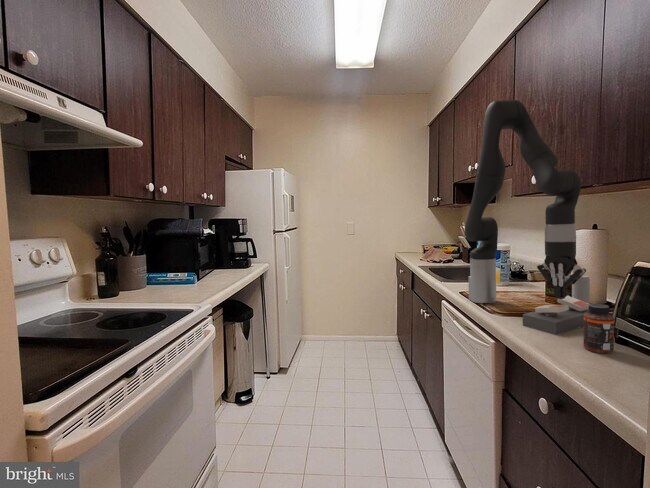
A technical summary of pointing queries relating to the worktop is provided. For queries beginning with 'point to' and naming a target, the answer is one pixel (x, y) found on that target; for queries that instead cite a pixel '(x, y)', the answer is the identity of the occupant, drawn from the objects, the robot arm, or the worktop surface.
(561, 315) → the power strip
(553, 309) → the rocker outlet
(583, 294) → the beverage can
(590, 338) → the supplement bottle
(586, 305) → the rocker outlet
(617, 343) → the worktop surface
